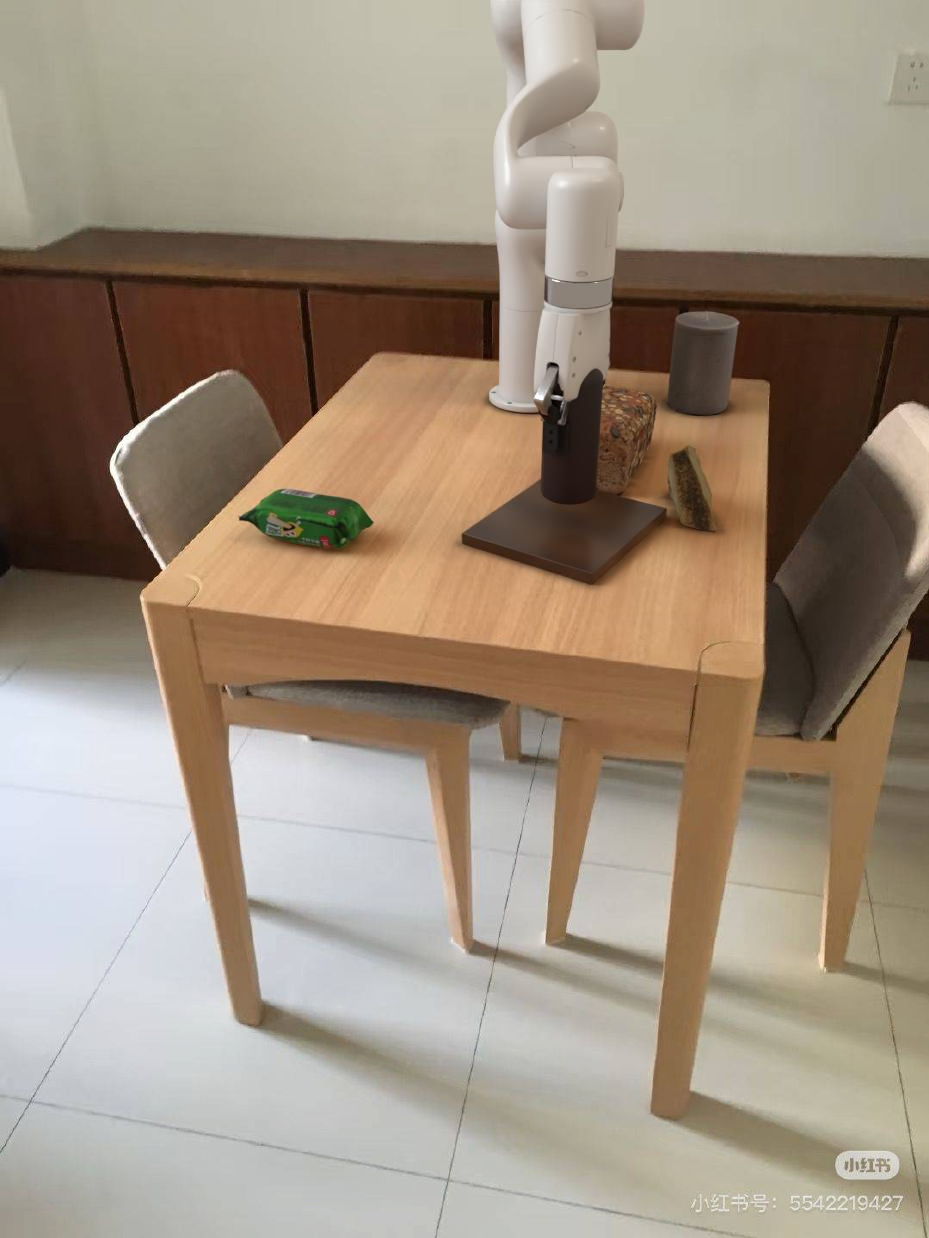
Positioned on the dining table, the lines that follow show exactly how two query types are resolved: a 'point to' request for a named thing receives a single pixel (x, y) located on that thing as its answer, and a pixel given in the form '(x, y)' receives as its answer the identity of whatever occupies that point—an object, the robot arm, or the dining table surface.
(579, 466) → the vinegar
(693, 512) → the rock
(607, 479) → the bread
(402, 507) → the dining table surface
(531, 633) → the dining table surface
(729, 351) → the pillar candle
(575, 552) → the serving board
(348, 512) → the snack package
